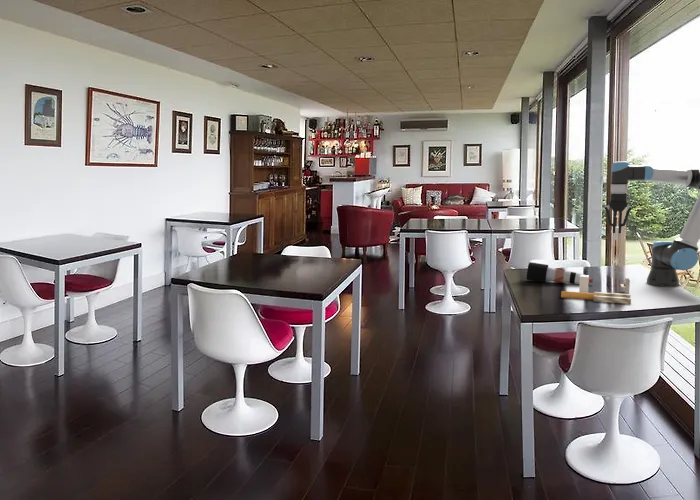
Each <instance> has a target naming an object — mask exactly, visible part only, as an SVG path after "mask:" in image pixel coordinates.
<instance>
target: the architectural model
mask: <svg viewBox="0 0 700 500" xmlns="http://www.w3.org/2000/svg"><path fill="white" fill-rule="evenodd" d="M630 284H631V279H630V277H626V278H625V277H624V282H623V283H620V287H621V288H624V294H630Z"/></svg>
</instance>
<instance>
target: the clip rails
mask: <svg viewBox="0 0 700 500" xmlns="http://www.w3.org/2000/svg"><path fill="white" fill-rule="evenodd" d="M593 293H597V296H596V295H594V300H593V302H599V303H601V302H602V303H611V304H612V303H613V304H626V305H631V304H632V298H631V294H630V293H629V294H628V293H619V292H618V293H617V292H604V291H603V292H600V291H593Z"/></svg>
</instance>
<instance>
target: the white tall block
mask: <svg viewBox="0 0 700 500" xmlns="http://www.w3.org/2000/svg"><path fill="white" fill-rule="evenodd" d="M589 279H590V275H589V274H588V275H587V274H583V275H580V284H579V289H578V290H579V291H578V292H583V293H589V283H590V282H589Z"/></svg>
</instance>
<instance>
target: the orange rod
mask: <svg viewBox="0 0 700 500" xmlns="http://www.w3.org/2000/svg"><path fill="white" fill-rule="evenodd" d="M560 294H561V295H560V296H561V298H565V299H580V300H590V301H591V300H592V301H594V295H596V296H597V293H594V292H588V293H583V292H579V291H565V290H562V291H561V293H560Z"/></svg>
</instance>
